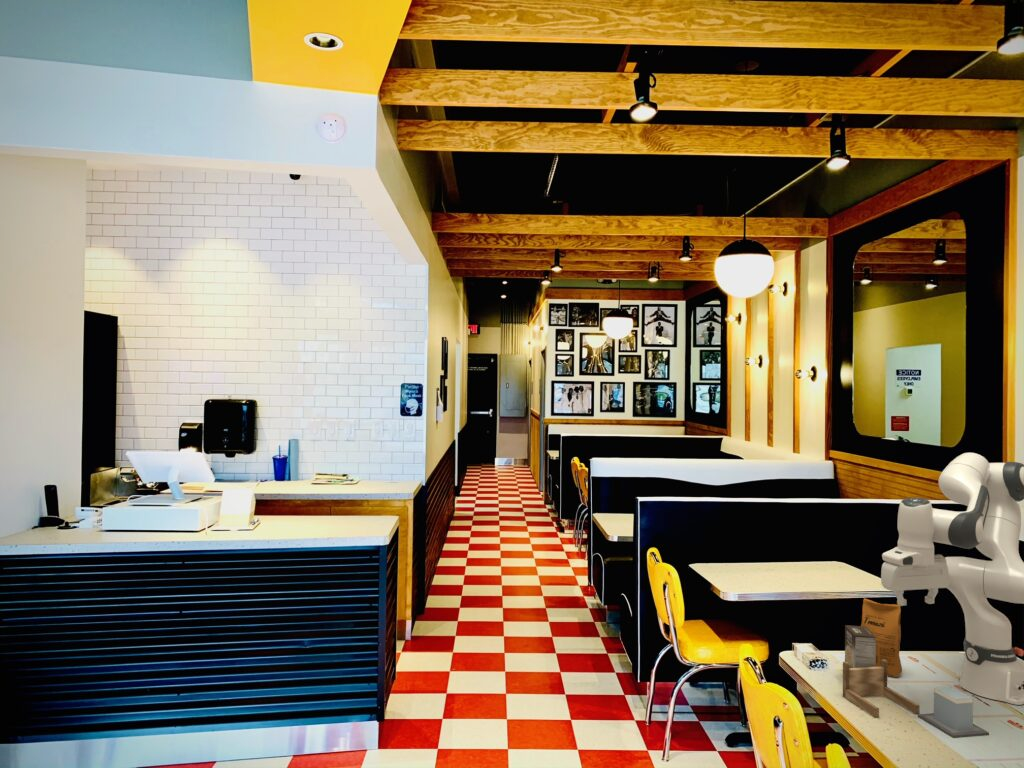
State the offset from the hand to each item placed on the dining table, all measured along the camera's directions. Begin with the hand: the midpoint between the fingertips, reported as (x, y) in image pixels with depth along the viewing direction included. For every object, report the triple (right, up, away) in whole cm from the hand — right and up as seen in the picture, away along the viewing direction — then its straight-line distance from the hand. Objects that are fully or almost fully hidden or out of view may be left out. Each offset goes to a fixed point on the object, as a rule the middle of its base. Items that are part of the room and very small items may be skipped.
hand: (915, 604), depth 176 cm
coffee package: (+4, -30, +24) cm, 39 cm away
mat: (+3, -29, -11) cm, 31 cm away
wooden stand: (-10, -29, -1) cm, 31 cm away
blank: (+3, -28, -11) cm, 30 cm away
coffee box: (-8, -30, +14) cm, 34 cm away
